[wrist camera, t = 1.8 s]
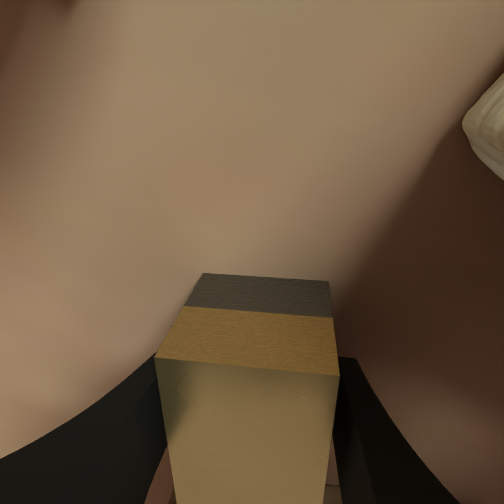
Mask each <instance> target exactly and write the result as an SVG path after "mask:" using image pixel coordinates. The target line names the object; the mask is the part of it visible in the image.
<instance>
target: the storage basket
mask: <svg viewBox="0 0 504 504" xmlns="http://www.w3.org/2000/svg"><path fill="white" fill-rule="evenodd" d="M462 127H463V130H464V132H465V133H466V135H467V136H468V140H469V142H470V145H471V147H472V149H473V151H474V152H475V153H476V155H477V156H478V157H479V159H480V160H482V161H483V162H484V163H485V164H486V165H487V166H488V167H489V168H490V169H491V170H492V171H493V172H494V173H495V174H496V175H497V176H499V177H500V178H501V179H502V180H504V73H503V74H502V75H501V76H500V77H499V78H498V79H497V80H496V81H495V82H494V84H493V85H492V86H491V87H490V88H489V89H488V90H487V91H486V92H485V93H484V94H483V95H482V96H481V98H480V99H479V100H478V101H477V102H476V103H475V105H474V106H473V107H472V108H471V109H469V110H468V112H467V113H466V115H465V116H464V118H463V121H462Z"/></svg>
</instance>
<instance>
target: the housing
mask: <svg viewBox="0 0 504 504" xmlns="http://www.w3.org/2000/svg"><path fill="white" fill-rule="evenodd" d="M154 360H155V367H156V373H157V380H158V386H159V393H160V399H161V405H162V412H163V418H164V425H165V431H166V438H167V444H168V450H169V457H170V463H171V470H172V476H173V483H174V489H175V495H176V502H177V504H323V496H324V489H325V482H326V474H327V467H328V460H329V452H330V445H331V437H332V430H333V423H334V415H335V408H336V400H337V393H338V386H339V378H340V374H339V365H338V357H337V349H336V341H335V332H334V324H333V316H332V307H331V299H330V291H329V283H328V281H315V280H300V279H285V278H270V277H255V276H240V275H225V274H210V273H203V274H202V276H201V278H200V279H199V281H198V283H197V284H196V286H195V288H194V290H193V291H192V293H191V295H190V296H189V298H188V300H187V302H186V303H185V305H184V307H183V308H182V310H181V312H180V314H179V315H178V317H177V319H176V320H175V322H174V324H173V326H172V327H171V329H170V331H169V332H168V334H167V336H166V338H165V339H164V341H163V343H162V344H161V346H160V348H159V350H158V351H157V353H156V355H155V356H154Z"/></svg>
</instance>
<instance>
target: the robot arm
mask: <svg viewBox="0 0 504 504" xmlns="http://www.w3.org/2000/svg"><path fill="white" fill-rule="evenodd" d="M156 353H157V352H156ZM156 353H155V354H153V355H152V356H151V357H150V358H149V359H148V360H147V361H146V362H145V363H143V364H142V365H141V366H140V367H139V368H138V369H137V370H135V371H134V372H133V373H132V374H131V375H130V376H128V377H127V378H126V379H125V380H124V381H123V382H121V383H120V384H119V385H118V386H116V387H115V388H114V389H113V390H111V391H110V392H109V393H108V394H106V395H105V396H104V397H102V398H101V399H100V400H98V401H97V402H96V403H94V404H93V405H92V406H90V407H89V408H87V409H86V410H84V411H83V412H81V413H80V414H78V415H77V416H75V417H74V418H72V419H71V420H69V421H68V422H66V423H64V424H63V425H61V426H59V427H58V428H56V429H54V430H53V431H51V432H49V433H48V434H46V435H44V436H43V437H41V438H39V439H37V440H36V441H34V442H32V443H30V444H28V445H26V446H25V447H23V448H21V449H19V450H17V451H15V452H13V453H11V454H9V455H7V456H5V457H3V458H1V459H0V504H144V502H145V499H146V496H147V493H148V490H149V487H150V485H151V482H152V480H153V477H154V475H155V472H156V470H157V468H158V465H159V463H160V461H161V458H162V456H163V454H164V451H165V449H166V447H167V445H168V444H167V438H166V431H165V425H164V418H163V412H162V405H161V399H160V393H159V386H158V380H157V373H156V367H155V360H154V356H155V355H156ZM338 365H339V374H340V378H339V386H338V393H337V400H336V408H335V415H334V423H333V430H332V435H333V442H334V449H335V456H336V463H337V470H338V477H339V484H340V491H341V498H342V504H460V503H459V502H458V501H457V500H456V499H455V498H454V497H453V496H452V494H451V493H450V492H449V491H448V490H447V489H446V488H445V487H444V486H443V485H442V484H441V482H440V481H439V480H438V479H437V478H436V477H435V475H434V474H433V473H432V472H431V471H430V470H429V469H428V467H427V466H426V465H425V464H424V462H423V461H422V460H421V459H420V457H419V456H418V455H417V454H416V452H415V451H414V450H413V449H412V447H411V446H410V445H409V443H408V442H407V441H406V439H405V438H404V437H403V435H402V434H401V432H400V431H399V430H398V428H397V427H396V425H395V424H394V422H393V421H392V419H391V418H390V417H389V415H388V413H387V412H386V410H385V409H384V407H383V406H382V404H381V402H380V401H379V399H378V398H377V396H376V394H375V393H374V391H373V389H372V388H371V386H370V384H369V382H368V380H367V379H366V377H365V375H364V373H363V371H362V369H361V367H360V365H359V363H358V361H357V360H356V359H355V358H347V357H338Z"/></svg>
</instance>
